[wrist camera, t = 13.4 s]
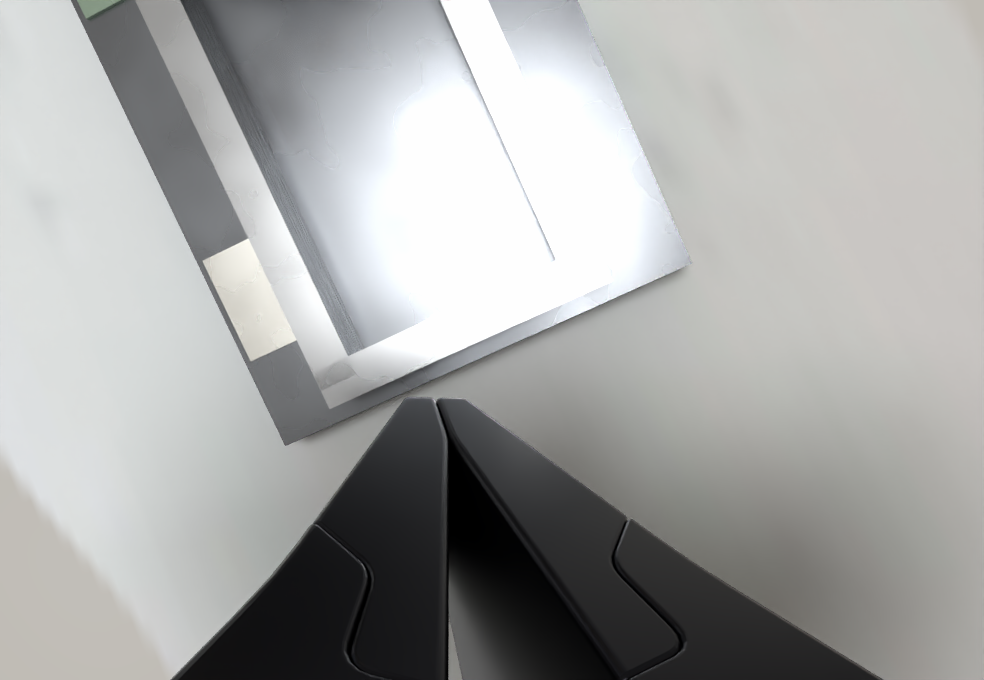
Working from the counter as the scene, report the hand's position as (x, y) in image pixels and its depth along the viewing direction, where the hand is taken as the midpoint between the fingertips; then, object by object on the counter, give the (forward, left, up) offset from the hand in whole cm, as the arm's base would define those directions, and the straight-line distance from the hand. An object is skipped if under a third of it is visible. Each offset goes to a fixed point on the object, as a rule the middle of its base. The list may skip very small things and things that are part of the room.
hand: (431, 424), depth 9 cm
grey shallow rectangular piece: (+9, 0, -10) cm, 13 cm away
